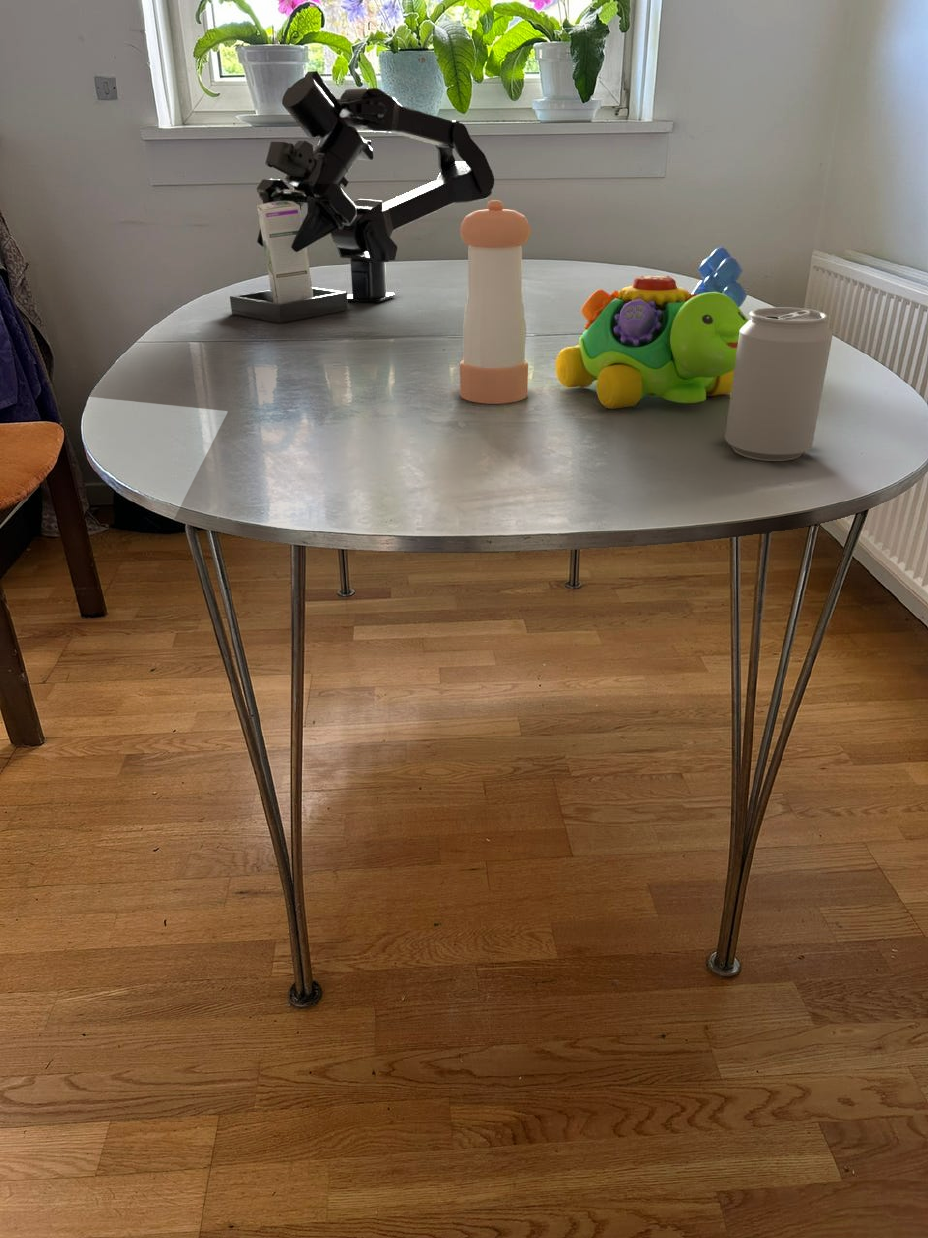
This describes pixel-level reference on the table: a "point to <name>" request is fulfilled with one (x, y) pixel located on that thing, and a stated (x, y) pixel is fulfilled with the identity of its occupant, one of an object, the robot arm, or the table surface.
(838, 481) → the table surface
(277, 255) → the syrup box
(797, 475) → the table surface
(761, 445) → the can
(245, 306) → the baking tray
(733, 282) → the grapes
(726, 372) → the turtle toy
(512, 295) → the pepper shaker
